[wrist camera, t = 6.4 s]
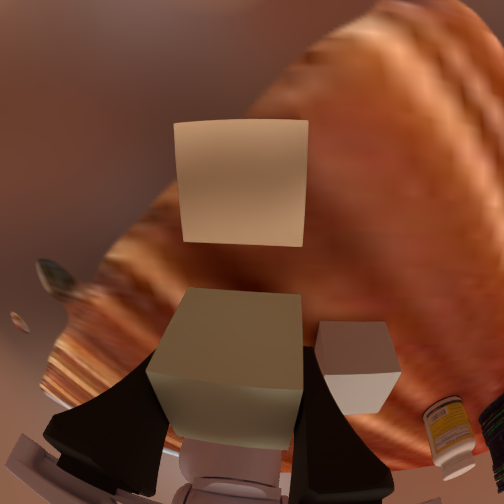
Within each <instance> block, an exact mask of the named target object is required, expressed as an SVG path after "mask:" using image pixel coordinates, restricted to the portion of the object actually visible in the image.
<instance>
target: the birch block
mask: <svg viewBox="0 0 504 504" xmlns="http://www.w3.org/2000/svg"><path fill="white" fill-rule="evenodd" d="M174 137H175V154H176V168H177V181H178V193H179V203H180V213H181V223H182V232H183V240H184V242H202V243H225V244H249V245H271V246H292V247H302V245H303V231H304V216H305V199H306V178H307V152H308V120H290V119H229V120H208V121H195V122H183V123H174Z"/></svg>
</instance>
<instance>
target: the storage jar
mask: <svg viewBox="0 0 504 504" xmlns="http://www.w3.org/2000/svg"><path fill="white" fill-rule="evenodd" d="M479 422H480V424H481V428H482V430H483V431H482V434H483V437H484V439H485V443H486V445H487V447H489V450H490V453H491V457H492V460H493V466H492V467H493V471H494V473H497V472H498V473H497V474H495V475H494V478H495V481H497V480H499V481H498V482H497V483H496V484H497V486H498V494H499V493H501V492H502V491H504V394H503V395H501V396H500V397H499V398H498V399H496V400H495V401H494V402H493V403H492V404H490V405H489V406H488V407H487V408H486V409H485V410H484V411H483V413H482V414H481V415H480V417H479Z"/></svg>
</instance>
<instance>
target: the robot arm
mask: <svg viewBox="0 0 504 504" xmlns="http://www.w3.org/2000/svg"><path fill="white" fill-rule="evenodd" d="M155 350H156V349H155ZM155 350H154V351H153V352H152V353H151V354H150V355H149V356H148V357H147V358H146V359H145V360H144V361H143V362H142V363H141V364H140V365H139V366H138V367H136V368H135V369H134V370H133V371H132V372H131V373H129V374H128V375H127V376H126V377H125V378H123V379H122V380H121V381H120V382H118V383H117V384H115V385H114V386H113V387H111V388H110V389H108V390H107V391H105V392H104V393H102V394H100V395H99V396H97V397H95V398H93V399H92V400H90V401H88V402H86V403H84V404H82V405H79V406H77V407H75V408H72V409H70V410H67V411H64V412H61V413H59V414H55V415H54V416H53V417H52V419H51V420H50V422H49V424H48V426H47V427H46V429H45V431H44V433H43V437H44V438H45V440H46V441H48V442H49V443H50V444H51V445H52V446H53V447H54V448H56V449H57V450H58V451H59V452H60V453H61V456H60V458H59V459H58V458H56V457H54V456H53V455H51V454H49V453H48V452H46V451H45V449H43V448H42V447H41V446H40V445H38V444H37V443H36V442H34V441H33V440H31V439H30V438H28V437H27V436H26V435H24V434H21V435H20V437H19V439H18V441H17V443H16V444H15V446H14V448H13V450H12V452H11V454H10V456H9V457H8V459H7V461H6V463H5V467H6V468H7V469H8V470H9V471H10V472H11V473H12V474H14V475H15V476H16V477H17V478H18V479H20V480H21V481H22V482H23V483H24V484H25V485H27V486H28V487H29V488H30V489H32V490H33V491H34V492H35V493H36V494H38V495H39V496H40V497H42V498H43V499H44V500H46V501H47V502H48V503H50V504H117V502H116V501H118V502H120V503H122V504H162V503H158V502H155V501H152V500H149V499H146V498H143V497H140V496H137V495H134V494H132V493H135V494H138V495H139V494H140V495H143V496H146V497H151V496H154V495H155V493H156V485H157V477H158V471H159V465H160V459H161V455H162V451H163V446H164V442H165V438H166V434H167V430H168V427H169V424H170V423H169V421H168V419H167V417H166V415H165V413H164V411H163V408H162V406H161V404H160V402H159V400H158V398H157V396H156V394H155V391H154V389H153V387H152V385H151V382H150V380H149V378H148V375H147V373H146V371H145V370H146V368H147V366H148V364H149V362H150V360H151V358H152V356H153V354H154V352H155ZM281 456H282V450H275V449H260V448H249V447H240V446H232V445H225V444H218V443H212V442H206V441H200V440H195V439H190V438H185V437H184V440H183V443H182V446H181V450H180V454H179V466H180V470H181V473H182V475H183V476H184V478H185V479H186V480H187V481H188V482H190V483H186V484H185V485H184V486H182V487H180V488H179V489H178V490H177V492H176V494H175V495H174V498H173V500H172V503H171V504H382V499H383V498H385V497H387V496H388V495H390V494H391V493H392V492H393V491H394V482H393V478H392V474H391V471H390V469H389V468H388V467H387V466H386V465H385V464H384V463H383V462H382V461H381V460H380V459H379V458H378V457H377V456H376V455H375V454H374V453H373V452H372V451H371V450H370V449H369V448H368V447H367V446H366V445H365V443H364V442H363V441H362V440H361V438H360V437H359V436H358V435H357V433H356V432H355V431H354V430H353V428H352V427H351V425H350V424H349V423H348V421H347V420H346V418H345V417H344V415H343V413H342V412H341V410H340V408H339V407H338V405H337V403H336V401H335V400H334V398H333V396H332V394H331V392H330V390H329V388H328V386H327V383H326V381H325V379H324V377H323V374H322V372H321V369H320V367H319V364H318V361H317V358H316V355H315V351H314V348H313V347H308V346H303V393H302V397H301V402H300V406H299V410H298V414H297V418H296V422H295V426H294V451H293V463H292V474H291V484H290V492H289V497H288V496H282V495H281V488H279V478H280V467H281ZM418 504H441V498H440V497H438V498H435V499H432V500H428V501H425V502H422V503H418Z"/></svg>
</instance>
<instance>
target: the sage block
mask: <svg viewBox="0 0 504 504" xmlns="http://www.w3.org/2000/svg"><path fill="white" fill-rule="evenodd" d="M145 371H146V373H147V375H148V378H149V380H150V382H151V385H152V387H153V389H154V391H155V394H156V396H157V398H158V400H159V402H160V404H161V406H162V408H163V411H164V413H165V415H166V417H167V419H168V421H169V423H170V424H171V426H172V428H173V430H174V432H175V434H176V436H180V437H185V438H190V439H195V440H200V441H206V442H212V443H218V444H225V445H232V446H240V447H249V448H260V449H275V450H288V448H289V444H290V441H291V437H292V433H293V430H294V426H295V422H296V418H297V414H298V410H299V406H300V402H301V397H302V393H303V331H302V300H301V294H282V293H264V292H248V291H233V290H220V289H207V288H195V287H188V289H187V291H186V293H185V295H184V297H183V299H182V300H181V302H180V304H179V306H178V308H177V310H176V312H175V314H174V316H173V317H172V319H171V321H170V323H169V325H168V327H167V329H166V331H165V333H164V335H163V337H162V339H161V341H160V343H159V345H158V347H157V348H156V350H155V352H154V354H153V356H152V358H151V360H150V362H149V364H148V366H147V368H146V370H145Z"/></svg>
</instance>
